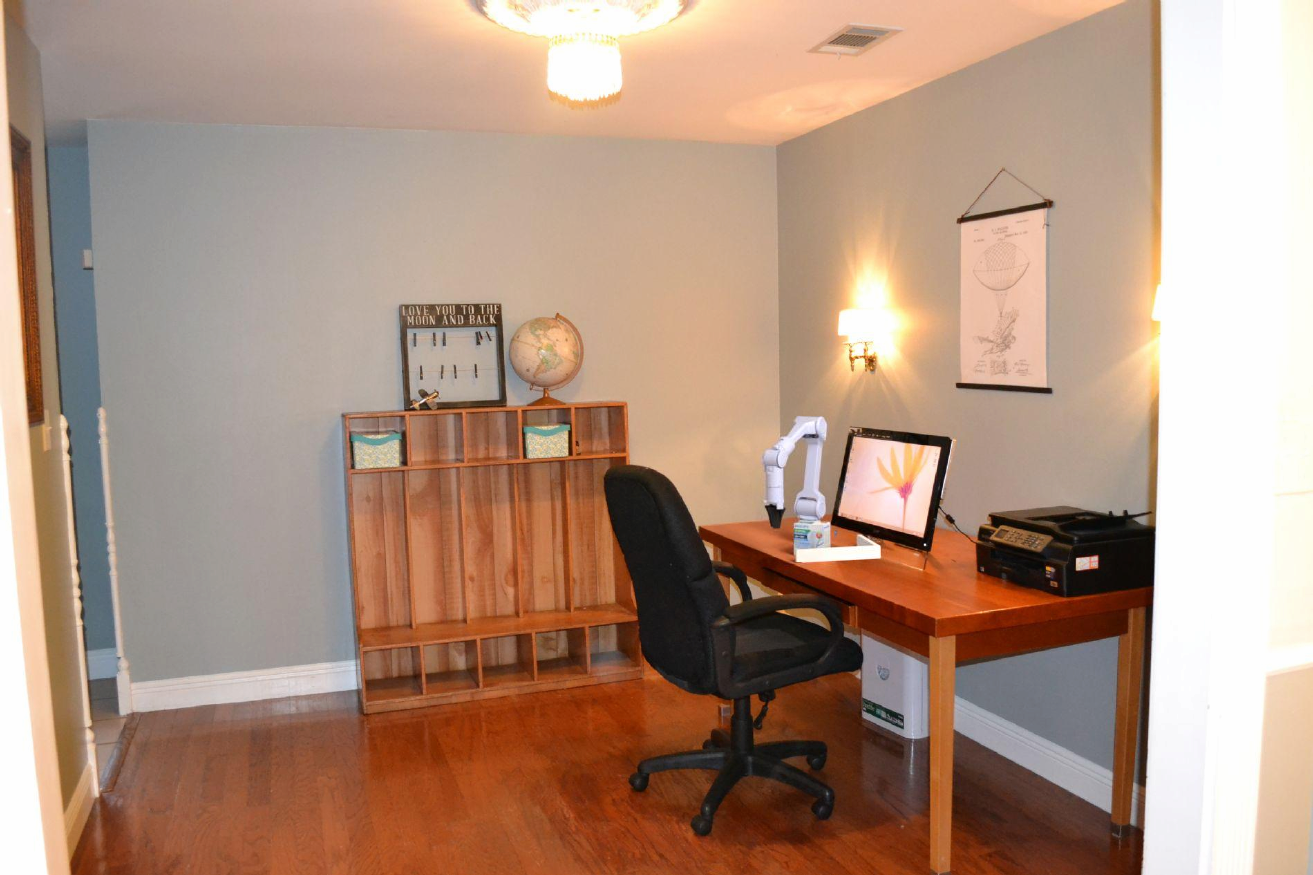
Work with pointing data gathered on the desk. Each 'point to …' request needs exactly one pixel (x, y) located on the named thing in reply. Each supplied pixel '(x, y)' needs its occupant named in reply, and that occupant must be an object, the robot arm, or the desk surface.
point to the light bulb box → (811, 535)
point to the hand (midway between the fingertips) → (775, 527)
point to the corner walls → (841, 552)
